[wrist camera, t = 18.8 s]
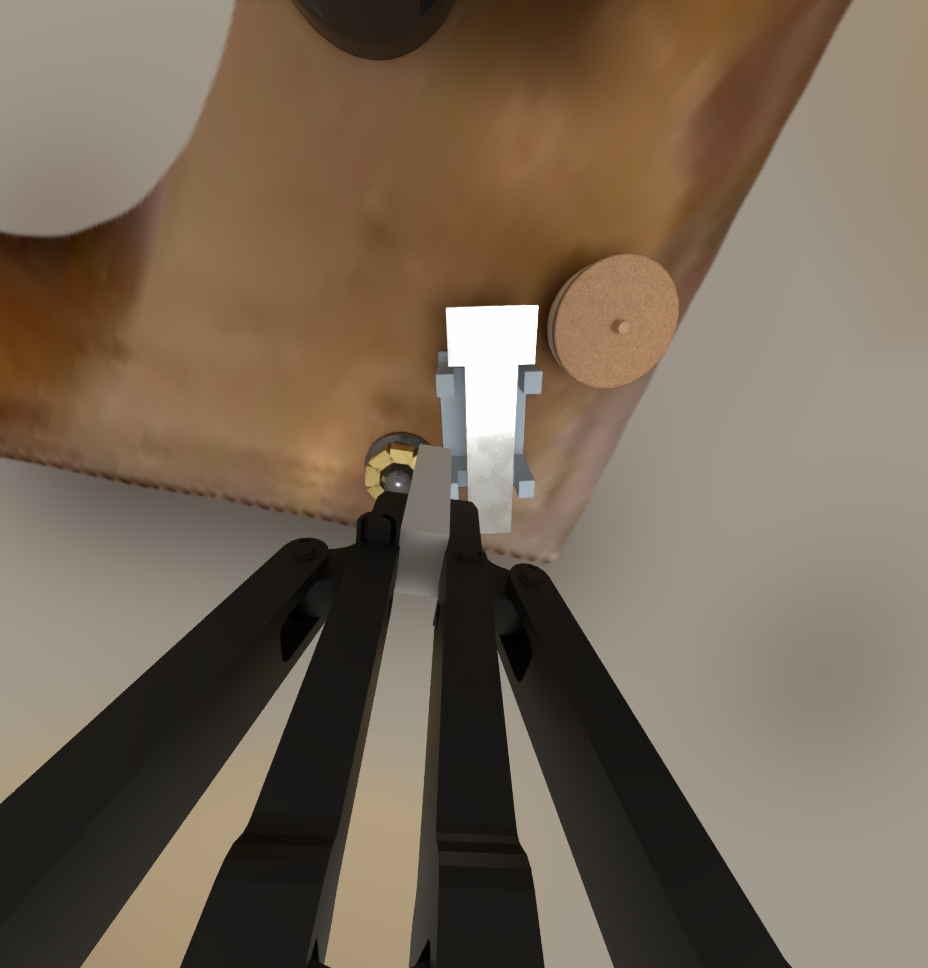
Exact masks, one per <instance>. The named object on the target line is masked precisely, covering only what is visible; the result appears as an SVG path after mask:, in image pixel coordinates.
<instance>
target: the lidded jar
mask: <svg viewBox="0 0 928 968" xmlns="http://www.w3.org/2000/svg"><path fill="white" fill-rule="evenodd" d="M678 313H679V303H678V295H677V291H676V287H675V285H674V282H673V280H672V278H671V276H670V275H669V273H668V272H667V271H666V269H664V268H663V267H662V266H661V265H660V264H659V263H658V262H656V261H655V260H653V259H652V258H649V257H647V256H644V255H640V254H634V253H621V254H617V255H612V256H608V257H606V258H603V259H600V260H598V261H596V262H595V263H592V264H590V265H588V266H586V267H585V268H583V269H581V270H580V271H578V272H577V273H576V274H575V275H573V276H572V277H571V278H570V279H569V280H568V281H567V282H566V283H565V284H564V285H563V287H562V288H561V290H560V291H559V292H558V294H557V296H556V298H555V300H554V301H553V304H552V306H551V309H550V312H549V317H548V323H547V335H548V342H549V346H550V349H551V351H552V354H553V355H554V357H555V359H556V360H557V362H558V363H559V365H560V366H561V367H562V368H563V369H564V370H565V371H566V372H567V373H568V374H569V375H570V376H571V377H573V378H574V379H575V380H577V381H578V382H580V383H582V384H584V385H587V386H590V387H594V388H601V389H603V388H615V387H620V386H623V385H626V384H628V383H630V382H632V381H634V380H636V379H638V378H640V377H641V376H643V375H644V374H645V373H647V372H648V371H649V370H650V369H651V368H652V367H653V366H654V365H655V364H656V363H657V362H658V361H659V360H660V359H661V357H662V356H663V354H664V353H665V351H666V350H667V348H668V346H669V344H670V342H671V340H672V338H673V335H674V333H675V330H676V326H677V321H678Z"/></svg>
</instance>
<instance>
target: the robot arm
mask: <svg viewBox="0 0 928 968" xmlns="http://www.w3.org/2000/svg"><path fill="white" fill-rule="evenodd" d="M293 1H294V3H295V4H296V6H297V7H298V9H299V10H300V11H301V13H302V14H303V15H304V17H305V18H306V19H307V20H308V21H309V23H310V24H311V25H312V26H313V27H314V28H315V29H316V30H317V31H318V32H319V33H320V34H322V35H323V36H324V37H325V38H326V39H328V40H329V41H330V42H332V43H333V44H334V45H336V46H337V47H339V48H341V49H343V50H345V51H347V52H349V53H351V54H354V55H357V56H360V57H364V58H369V59H389V58H395V57H398V56H402V55H404V54H406V53H409V52H411V51H412V50H414V49H416V48H417V47H419V46H420V45H422V44H423V43H424V42H425V41H427V40H428V39H429V38H430V37H431V36H432V35H433V34H434V33H435V32H436V30H437V29H438V28H439V27H440V26H441V24H442V23H443V21H444V20H445V18H446V17H447V15H448V14H449V12H450V10H451V8H452V7H453V5H454V3H455V1H456V0H293ZM451 460H452V449H449V448H443V447H436V446H430V445H423V444H420V446H419V450H418V455H417V459H416V463H415V468H414V472H413V477H412V481H411V486H410V490H409V494H406V493H399V492H392V491H384V492H383V493H381V494H380V495H379V496H378V497H377V499H376V502H375V505H374V507H373V510H372V511H371V512H367V513H365V514H363V515H361V516H360V517H359V518H358V520H357V535H356V543H355V544H353V545H351V546H348V547H344V548H337V549H328V546H327V545H326V544H325V542H323V541H321V540H319V539H315V538H300V539H297V540H293V541H291V542H290V543H288V544H286V545H284V546H283V547H282V548H281V549H280V550H279V551H278V552H277V553H276V554H275V555H274V556H272V557H271V558H270V559H269V560H268V561H267V562H266V563H265V564H263V565H262V566H261V567H260V568H259V569H258V570H257V571H256V572H255V573H254V574H252V575H251V576H250V577H249V578H248V579H247V580H246V581H245V582H244V583H243V584H241V585H240V586H239V587H238V588H237V589H236V590H235V591H234V592H233V593H232V594H231V595H229V596H228V597H227V598H226V599H225V600H224V601H223V602H222V603H221V604H219V605H218V606H217V607H216V608H215V609H214V610H213V611H212V612H211V613H210V614H208V615H207V616H206V617H205V618H204V619H203V620H202V621H201V622H200V623H199V624H198V625H196V626H195V627H194V628H193V629H192V630H191V631H190V632H189V633H188V634H187V635H185V637H183V638H182V639H181V640H180V641H179V642H178V643H177V644H176V645H175V646H173V647H172V648H171V649H170V650H169V651H168V652H167V653H166V654H165V655H163V656H162V657H161V658H160V659H159V660H158V661H157V662H156V663H155V664H154V665H152V666H151V667H150V668H149V669H148V670H147V671H146V672H145V673H144V674H143V675H141V677H139V678H138V679H137V680H136V681H135V682H134V683H133V684H132V685H130V686H129V687H128V688H127V689H126V690H125V691H124V692H123V693H122V694H121V695H119V696H118V697H117V698H116V699H115V700H114V701H113V702H112V703H111V704H110V705H108V706H107V707H106V708H105V709H104V710H103V711H102V712H101V713H100V714H99V715H98V716H96V717H95V718H94V719H93V720H92V721H91V722H90V723H89V724H88V725H87V726H85V727H84V728H83V729H82V730H81V731H80V732H79V733H78V734H77V735H76V736H74V737H73V738H72V739H71V740H70V741H69V742H68V743H67V744H66V745H64V746H63V747H62V748H61V749H60V750H59V751H58V752H57V753H56V754H55V755H54V756H52V757H51V758H50V759H49V760H48V761H47V762H46V763H45V764H44V765H43V766H42V767H40V768H39V769H38V770H37V771H36V772H35V773H34V774H33V775H32V776H31V777H29V778H28V779H27V780H26V781H25V782H24V783H23V784H22V785H21V786H20V787H18V788H17V789H16V790H15V791H14V792H13V793H12V794H11V795H10V796H8V797H7V798H6V799H5V800H4V801H3V802H2V803H1V804H0V968H80V967H81V965H82V964H83V963H84V961H85V960H86V958H87V957H88V956H89V954H90V953H91V951H92V950H93V949H94V947H95V946H96V944H97V943H98V942H99V940H100V939H101V937H102V936H103V934H104V933H105V932H106V930H107V928H108V927H109V926H110V924H111V923H112V922H113V920H114V919H115V918H116V916H117V915H118V913H119V912H120V910H121V909H122V908H123V906H124V905H125V903H126V902H127V901H128V899H129V898H130V896H131V895H132V894H133V892H134V891H135V889H136V888H137V887H138V885H139V884H140V882H141V881H142V879H143V878H144V877H145V875H146V874H147V872H148V871H149V869H150V868H151V867H152V865H153V864H154V863H155V861H156V859H157V858H158V857H159V855H160V854H161V853H162V851H163V850H164V848H165V847H166V846H167V844H168V843H169V841H170V840H171V839H172V837H173V836H174V834H175V833H176V831H177V830H178V829H179V827H180V826H181V824H182V823H183V822H184V820H185V819H186V817H187V816H188V815H189V813H190V812H191V810H192V809H193V807H194V806H195V805H196V803H197V802H198V800H199V799H200V797H201V796H202V795H203V793H204V792H205V791H206V789H207V788H208V786H209V785H210V783H211V782H212V781H213V779H214V778H215V776H216V775H217V774H218V772H219V771H220V769H221V768H222V767H223V765H224V763H225V762H226V761H227V760H228V758H229V757H230V755H231V754H232V752H233V751H234V750H235V748H236V747H237V745H238V744H239V743H240V741H241V740H242V738H243V737H244V736H245V734H246V733H247V731H248V730H249V728H250V727H251V726H252V724H253V723H254V721H255V720H256V719H257V717H258V716H259V714H260V713H261V712H262V710H263V709H264V707H265V706H266V705H267V703H268V702H269V700H270V699H271V698H272V696H273V695H274V693H275V691H276V690H277V689H278V688H279V686H280V684H281V683H282V682H283V681H284V679H285V678H286V676H287V675H288V674H289V672H290V671H291V669H292V668H293V666H294V665H295V664H296V662H297V661H298V659H299V658H300V657H301V655H302V654H303V652H304V651H305V650H306V648H307V647H308V645H309V644H310V642H311V641H312V640H313V638H314V637H315V635H316V634H317V632H318V631H319V630H320V628H321V627H322V625H323V624H324V623H325V625H324V627H323V630H322V633H321V635H320V638H319V641H318V643H317V646H316V648H315V651H314V654H313V656H312V659H311V661H310V664H309V667H308V670H307V672H306V675H305V677H304V680H303V682H302V685H301V688H300V690H299V693H298V695H297V698H296V701H295V703H294V706H293V709H292V712H291V714H290V717H289V719H288V722H287V724H286V727H285V730H284V732H283V735H282V737H281V740H280V743H279V745H278V748H277V750H276V753H275V756H274V759H273V761H272V764H271V766H270V769H269V771H268V774H267V777H266V779H265V782H264V784H263V787H262V790H261V792H260V795H259V798H258V800H257V803H256V805H255V808H254V811H253V813H252V816H251V818H250V821H249V823H248V825H247V827H246V829H245V830H244V832H243V833H242V834H241V836H240V837H239V838H238V839H237V840H236V841H235V842H234V843H233V845H232V847H231V848H230V850H229V852H228V854H227V855H226V857H225V859H224V861H223V864H222V866H221V868H220V870H219V873H218V875H217V877H216V879H215V882H214V884H213V887H212V889H211V892H210V894H209V897H208V899H207V902H206V904H205V907H204V909H203V912H202V914H201V917H200V919H199V922H198V924H197V926H196V929H195V931H194V934H193V936H192V939H191V941H190V944H189V947H188V949H187V951H186V954H185V956H184V959H183V961H182V964H181V966H180V968H330V967H328V966H326V965H324V961H325V956H326V950H327V945H328V939H329V934H330V929H331V922H332V917H333V910H334V904H335V897H336V890H337V885H338V880H339V875H340V870H341V865H342V859H343V854H344V849H345V844H346V839H347V834H348V829H349V823H350V818H351V813H352V808H353V802H354V798H355V793H356V788H357V782H358V777H359V772H360V767H361V762H362V757H363V752H364V747H365V742H366V737H367V731H368V726H369V721H370V715H371V711H372V706H373V701H374V696H375V690H376V685H377V680H378V675H379V670H380V665H381V660H382V655H383V650H384V644H385V639H386V634H387V629H388V624H389V619H390V614H391V608H392V602H393V594H394V593H402V594H411V595H420V596H429V597H437V596H438V601H437V605H436V611H435V616H434V621H433V626H435V628H434V641H433V657H432V672H431V686H430V701H429V716H428V731H427V746H426V761H425V776H424V791H423V792H424V793H423V806H422V821H421V837H420V851H419V867H418V881H417V892H416V901H415V908H414V916H413V924H412V934H411V947H410V959H409V968H545V967H544V959H543V951H542V944H541V936H540V928H539V920H538V912H537V904H536V896H535V889H534V883H533V877H532V871H531V867H530V864H529V860H528V857H527V854H526V853H525V851H524V850H523V848H522V846H521V845H520V842H519V839H518V835H517V828H516V820H515V811H514V802H513V792H512V783H511V773H510V764H509V755H508V746H507V738H506V737H507V736H506V727H505V718H504V709H503V699H502V692H501V681H500V672H499V663H498V653H499V655H500V658H501V661H502V663H503V666H504V669H505V672H506V674H507V677H508V680H509V682H510V685H511V688H512V691H513V693H514V696H515V699H516V701H517V704H518V707H519V710H520V712H521V715H522V718H523V720H524V723H525V726H526V729H527V731H528V734H529V737H530V740H531V742H532V745H533V748H534V751H535V753H536V756H537V759H538V761H539V764H540V767H541V770H542V772H543V775H544V778H545V780H546V783H547V786H548V789H549V791H550V794H551V797H552V800H553V802H554V805H555V808H556V811H557V813H558V816H559V819H560V822H561V824H562V827H563V830H564V832H565V835H566V838H567V841H568V843H569V846H570V849H571V851H572V854H573V857H574V859H575V862H576V865H577V868H578V871H579V873H580V876H581V879H582V881H583V884H584V887H585V890H586V892H587V895H588V897H589V900H590V903H591V906H592V909H593V911H594V914H595V917H596V920H597V922H598V925H599V928H600V931H601V933H602V936H603V939H604V941H605V944H606V947H607V950H608V952H609V955H610V958H611V961H612V963H613V966H614V968H792V967H791V966H790V965H789V964H788V963H787V961H786V960H785V959H784V957H783V955H782V954H781V952H780V951H779V949H778V947H777V946H776V944H775V942H774V941H773V939H772V938H771V936H770V934H769V933H768V931H767V929H766V928H765V926H764V925H763V923H762V921H761V920H760V918H759V917H758V915H757V913H756V912H755V910H754V908H753V907H752V905H751V904H750V902H749V900H748V899H747V897H746V895H745V894H744V892H743V891H742V889H741V887H740V886H739V884H738V882H737V881H736V879H735V878H734V876H733V874H732V873H731V871H730V869H729V868H728V866H727V865H726V863H725V861H724V860H723V858H722V857H721V855H720V853H719V852H718V850H717V848H716V847H715V845H714V843H713V842H712V840H711V839H710V837H709V836H708V834H707V832H706V831H705V829H704V827H703V826H702V824H701V822H700V821H699V819H698V817H697V816H696V814H695V813H694V811H693V809H692V808H691V806H690V805H689V803H688V801H687V800H686V798H685V796H684V795H683V793H682V792H681V790H680V788H679V787H678V785H677V784H676V782H675V780H674V779H673V777H672V775H671V774H670V772H669V770H668V769H667V767H666V766H665V764H664V762H663V761H662V759H661V757H660V756H659V754H658V753H657V751H656V749H655V748H654V746H653V744H652V743H651V741H650V740H649V738H648V736H647V735H646V733H645V732H644V730H643V728H642V727H641V725H640V723H639V722H638V720H637V719H636V717H635V715H634V714H633V712H632V710H631V709H630V707H629V706H628V704H627V702H626V701H625V699H624V698H623V696H622V694H621V693H620V691H619V689H618V688H617V686H616V684H615V683H614V681H613V680H612V678H611V677H610V675H609V673H608V671H607V670H606V668H605V667H604V665H603V663H602V662H601V660H600V659H599V657H598V655H597V654H596V652H595V650H594V649H593V647H592V646H591V644H590V642H589V641H588V639H587V637H586V636H585V634H584V633H583V632H582V629H581V628H580V626H579V625H578V623H577V621H576V620H575V618H574V616H573V615H572V613H571V612H570V610H569V608H568V607H567V605H566V603H565V602H564V600H563V598H562V597H561V595H560V594H559V592H558V590H557V589H556V587H555V586H554V584H553V583H552V581H551V579H550V577H549V576H548V575H547V574H546V573H545V572H544V571H543V570H541V569H540V568H539V567H537V566H534V565H531V564H524V563H521V564H516V565H515V566H513V567H512V568H511V570H507V569H505V568H502V567H499V566H497V565H495V564H493V563H492V562H490V561H489V560H488V559H487V556H486V553H485V552H484V551H483V550H482V545H481V535H480V526H479V514H478V509H477V507H476V506H475V505H474V503H473V502H470V501H463V500H455V499H450V497H451ZM325 621H326V622H325ZM497 650H498V653H497Z"/></svg>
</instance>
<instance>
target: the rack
mask: <svg viewBox="0 0 928 968" xmlns="http://www.w3.org/2000/svg"><path fill="white" fill-rule="evenodd" d="M542 373H543V371H542V370H540V369H539V368H538V367H537V366H536V365H534V364H522V365H518V374H517V397H516V420H515V443H514V465H513V485H515V488H516V491H517V494H518V497H519V498H529V497H534V485H535V480H534V478H533V475H532V473H531V471H530V469H529V466H528V464H527V462H526V460H525V458H524V455H523V441H524V421H525V402H526V394H541V387H542ZM436 389H437V397H440V398H441V415H442V432H443V448H449V449H452V460H451V497H450V499H455V500H458V487H467V484H466V440H465V396H464V366H453V367H448V351H438V366H437V371H436Z"/></svg>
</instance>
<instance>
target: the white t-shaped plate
mask: <svg viewBox="0 0 928 968" xmlns="http://www.w3.org/2000/svg"><path fill="white" fill-rule="evenodd" d="M537 320H538V305H530V304H517V305H480V306H447V307H446V321H447V345H448V367H453V366H464V396H465V440H466V484H467V501H470V502H473V503H474V505H475V506H476V507H477V509H478V514H479V526H480V534H486V533H511V511H512V488H513V465H514V443H515V420H516V397H517V374H518V365H522V364H535V351H536V336H537Z"/></svg>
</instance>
